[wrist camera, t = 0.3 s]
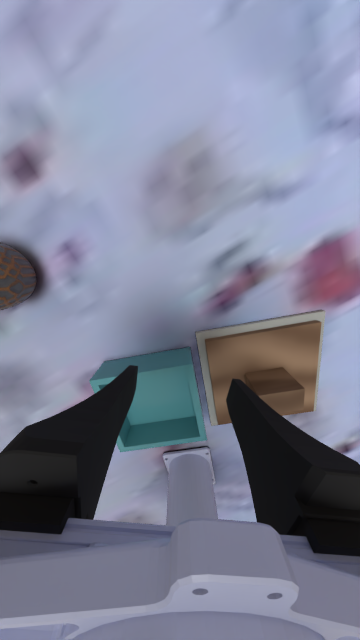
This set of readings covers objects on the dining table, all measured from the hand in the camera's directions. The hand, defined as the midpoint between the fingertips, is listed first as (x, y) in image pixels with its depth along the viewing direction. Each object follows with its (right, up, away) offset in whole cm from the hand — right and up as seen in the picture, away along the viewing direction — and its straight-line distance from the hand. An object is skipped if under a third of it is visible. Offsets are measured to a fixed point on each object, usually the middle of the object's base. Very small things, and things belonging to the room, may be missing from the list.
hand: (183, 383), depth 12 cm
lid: (+11, -3, +11) cm, 16 cm away
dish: (-4, -6, +12) cm, 14 cm away
